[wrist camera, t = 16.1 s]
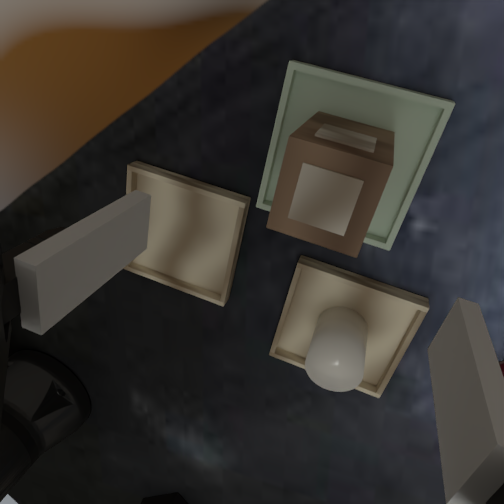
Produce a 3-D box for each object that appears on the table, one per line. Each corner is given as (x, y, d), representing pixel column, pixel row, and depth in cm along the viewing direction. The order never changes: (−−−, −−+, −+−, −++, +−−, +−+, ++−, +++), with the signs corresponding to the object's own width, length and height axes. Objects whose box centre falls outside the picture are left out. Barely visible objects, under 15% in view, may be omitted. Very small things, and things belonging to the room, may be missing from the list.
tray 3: (272, 345, 44) (268, 354, 43) (301, 254, 38) (297, 262, 37) (379, 386, 42) (379, 398, 41) (428, 298, 36) (429, 308, 34)
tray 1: (131, 261, 45) (123, 268, 44) (136, 160, 39) (127, 164, 38) (229, 298, 43) (223, 306, 42) (251, 197, 37) (245, 203, 36)
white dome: (310, 337, 41) (298, 378, 36) (324, 299, 39) (313, 338, 34) (358, 354, 40) (352, 399, 35) (375, 317, 38) (372, 360, 33)
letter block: (298, 182, 34) (265, 228, 26) (319, 109, 31) (288, 133, 22) (367, 203, 33) (356, 258, 25) (395, 130, 30) (394, 164, 21)
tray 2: (261, 200, 37) (255, 206, 35) (293, 59, 31) (289, 60, 29) (389, 242, 35) (389, 250, 33) (452, 100, 29) (455, 103, 27)
